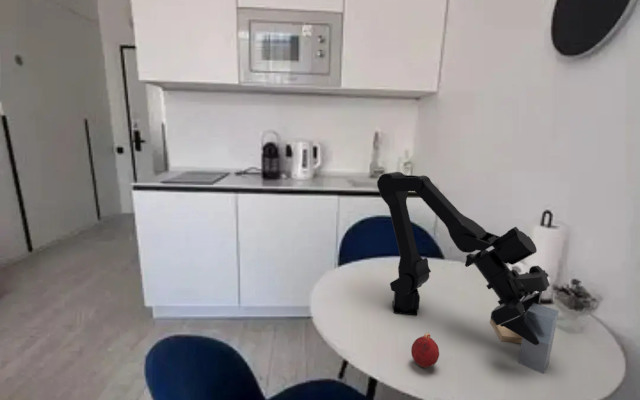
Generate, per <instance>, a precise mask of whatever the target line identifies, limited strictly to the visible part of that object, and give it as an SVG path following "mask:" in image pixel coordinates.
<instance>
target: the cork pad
mask: <svg viewBox="0 0 640 400" xmlns="http://www.w3.org/2000/svg"><path fill="white" fill-rule="evenodd" d="M489 322H490V324H491V326H492V328H493V330H494V332H495V333H496V335H497V337H498V338H499V340H500V341H501V342H504V343H512V344H513V343H514V344H522V338H523V337H521V336H520V335H518V334H516V333H515V332H513V331H511V330H509V329H508V328H506V327H504V326H503V327H501V326H500V324H499V325H496V324H495V323H494V322H493V320H492V319H491V318H490V320H489Z"/></svg>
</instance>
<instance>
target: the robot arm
mask: <svg viewBox="0 0 640 400" xmlns="http://www.w3.org/2000/svg"><path fill="white" fill-rule="evenodd" d="M376 187H377V189H378V192H379V194H380V197H381V199H382V200H383V201H384V202H385V203H386V205H387V206H388V210H389V213H390V217H391V223H392V227H393V230H394V231H393V232H394V235H395V239H396V240H395V241H396V244H397V248H398V254H399V256H400V257H399V262H398V267H397V270H398V271H397V272H398V278H396V279H395V280H392V281H391V282H390V283H389V285H390V291H392V292H393V300H392V311H393V313H394V314H399V315H401V314H403V315H409V316H410V315H413V316H417V315H418V311H419V308H420V300H421V297H420V296H421V295H420V293H419V289H418V288H421V287H422V286H423V285H424V284H425V283H427V281H428V280H429V278H430V273H431V272H432V270H431V268H430V267H429V259H428V258H427V257H424V258H423V257H422V256H421V255H420V254H419V252H418V248H417V242H416V239H415V236H414V231H413V227H412V222H411V218H410V213H409V209H408V204H407V200H408V196H409V195H408V194H409V192H415V193H416V194H417V195H418V196H419V197H420V198H421V199H422V200H423V202H424V203H425V204H426V206H428V208H429V209H430V210H431V211H432V212H433V213H434V214H435V215H436V216H437V218H439V220H440V221H441V222H442V224H444V225H445V227H446V229H447V231H448V234H449V237H450V238H451V240H452V242H453V243H454V245H455V246H456V248H457V249H458V250H459V251H460V252H462V253H467V254H466V256H465V259H466V261H465V263H464V266H465V268H468V267H470V266H471V265H473V264H474V266H475V267H476V268H477V269H478V271H479V273H480V274H481V275H482V277H483V278H484V279H485V281H486V282H487V284H486V285H485V287H487V290H491V289H492V290H493V292H494V293H495V294H496V296H497V297H498V300H497V303H498V304H499V305H497V306H496V307H494V309H493V310H492V311H491V312H490V319H492V320H493V322H494V323H495V324H496V325H499V324H500V326H501V327H503V326H504V327H506V328H508V329H509V330H511V331H513V332H515V333H516V334H518V335H520V336H521V337H523V338H524V339H526V340H527V341H529V342H531V343H532V344H534V345H538V344H539V340H538V338H537V337H536V335H535V333H534V331H533V330H532V328H531V326H530V325H529V323H528V321H527V312H528V311H527V310H528V309H529V308H530V306H531V305H532V304H533V303H536V304H539V305H542V303H541V299H542V295H543V292H546V291H547V290H548V287H550V286H551V284H550V282H549V279H548V277H549V273H547V272H546V270H544V269H542V267H541V266H540V265H532V266H531V267H530V268H529V269H528V270H529V271H528V272H525V273H519V272H518V271H517V269H510V268H509V267H508V265H507V264H509V265H512V266H513V265H516V264H517V263H519V262H521V261H523V260H525V259H527V258H529V257H531V256H533V255H534V254H536V253H537V246H536V244H535V243H534V241H533V240H532V238H531V237H530V236H528V235H527V234H526V233H525V232H523V231H521V230H520V229H519V228H518V227H517V226H514V227H512V228H511V229H510V230H508V231H507V232H506V233H504V234H502V235H501V236H500V235H497V234H494V233H491V232H488V231H486V229H484V227H482V226H481V225H480V224H479V223H477V222H476V221H475V220H473V219H471V218H469V217H468V216H466V215H464V214H463V213H462V212H460V210H458V208H457V207H455V206H454V204H452V202H451V201H450V200H449V199H448V198H447V197H446V196H445V195H444V194H443V193H442V192H441V191H440V189H439V188H438V187H437V186H436V185H435V184H434V183H433V182H432V181H431V178H430V177H429V176H428V175H424V174H423V175H414V174H413V175H411V174H410V175H409V174H408V175H407V174H404V173H403V172H400V171H394V172H387V173H383V174H381V175H380V176H379V177H378V179H377V181H376ZM491 247H492V249H490V250H489V251H488V249H489V248H491ZM475 251H478V252H476V253H474V252H475ZM472 253H473V254H472Z"/></svg>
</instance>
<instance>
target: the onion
mask: <svg viewBox="0 0 640 400" xmlns="http://www.w3.org/2000/svg"><path fill="white" fill-rule="evenodd" d="M410 349H411V350H410V351H411V357H412V359H413V361H414V362H415V363H416V364H417V365H418V366H420V367H421V368H429V367H432V366H434V365H435V364H436V363H437V362H438V361H439V357H440V349H439V345H438V344H437V342H436V341H435V340H434V339H433V338H431V334H430V333H429V332H425V333H424V335H423V336H420V337H418V338H416V339H415V340H414V341H413V343H412V345H411V348H410Z"/></svg>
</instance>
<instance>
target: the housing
mask: <svg viewBox="0 0 640 400" xmlns="http://www.w3.org/2000/svg"><path fill="white" fill-rule="evenodd" d="M527 311H528V312H527V321H528V323H529V325H530V326H531V328H532V330H533V331H534V333H535V335H536V337H537V338H538V340H539V344H538V345H534V344H532V343H531V342H529V341H527V340H526V339H524V338H522V343H520V351H519V355H518V362H517V363H518V364H520V365H522V366H525V367H526V368H529V369H531V370H534V371H536V372H538V373H541V374H544V373H545V371H546V369H547V367H548V365H549V363H550V358H551V352H552V348H553V343H554V338H555V333H556V328H557V322H558V318H559V312H560V311H559V309H558V310H557V309H554V308H551V307H547V306H545V305H542V304H541V305H539V304H536V303H533V304H532V305H531V306H530V308H529V309H528V310H527Z"/></svg>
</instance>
